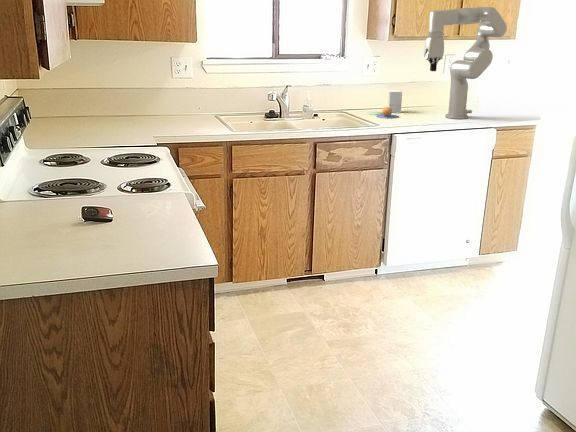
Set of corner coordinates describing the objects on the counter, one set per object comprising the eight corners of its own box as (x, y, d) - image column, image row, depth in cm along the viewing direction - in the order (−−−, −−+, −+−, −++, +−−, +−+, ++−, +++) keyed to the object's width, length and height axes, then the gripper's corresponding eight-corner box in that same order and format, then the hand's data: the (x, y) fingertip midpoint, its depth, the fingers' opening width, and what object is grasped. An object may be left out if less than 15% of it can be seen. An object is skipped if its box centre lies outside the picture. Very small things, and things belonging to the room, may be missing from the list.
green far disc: (377, 111, 361) (377, 111, 361) (387, 114, 353) (387, 113, 353) (363, 112, 357) (363, 112, 357) (373, 115, 349) (373, 115, 349)
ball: (391, 117, 347) (386, 110, 349) (395, 111, 342) (390, 104, 344) (383, 119, 344) (379, 112, 346) (387, 113, 340) (382, 105, 342)
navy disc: (390, 114, 353) (390, 113, 353) (403, 117, 342) (403, 117, 342) (371, 115, 348) (371, 115, 348) (384, 119, 337) (384, 118, 337)
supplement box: (400, 111, 364) (401, 90, 360) (401, 113, 357) (402, 91, 353) (387, 111, 365) (388, 89, 361) (388, 112, 358) (389, 91, 354)
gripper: (442, 34, 322) (439, 69, 328) (419, 35, 316) (417, 71, 322) (451, 35, 316) (448, 71, 322) (428, 36, 309) (426, 72, 315)
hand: (433, 71), depth 322 cm, fingers closed
